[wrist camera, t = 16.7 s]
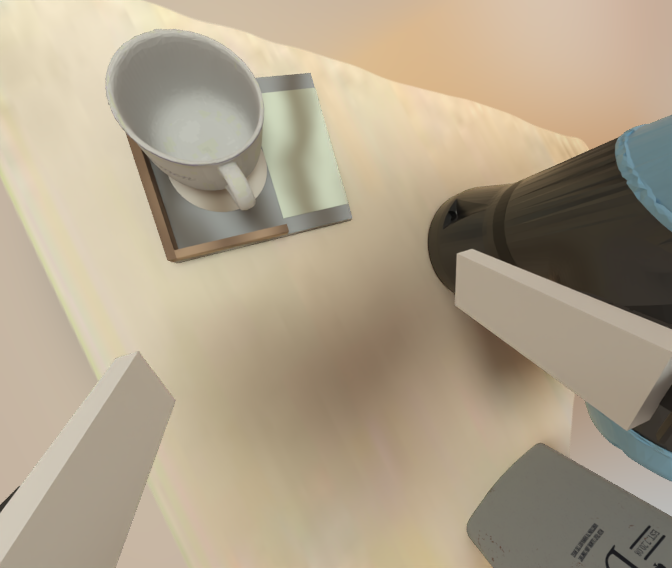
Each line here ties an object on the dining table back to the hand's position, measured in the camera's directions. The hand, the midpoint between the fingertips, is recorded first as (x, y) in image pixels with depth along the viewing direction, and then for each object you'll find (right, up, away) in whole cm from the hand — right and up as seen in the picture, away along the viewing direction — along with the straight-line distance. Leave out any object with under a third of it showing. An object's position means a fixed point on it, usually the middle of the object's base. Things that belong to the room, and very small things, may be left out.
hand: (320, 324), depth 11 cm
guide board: (-9, +15, +18) cm, 25 cm away
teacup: (-12, +14, +17) cm, 25 cm away
